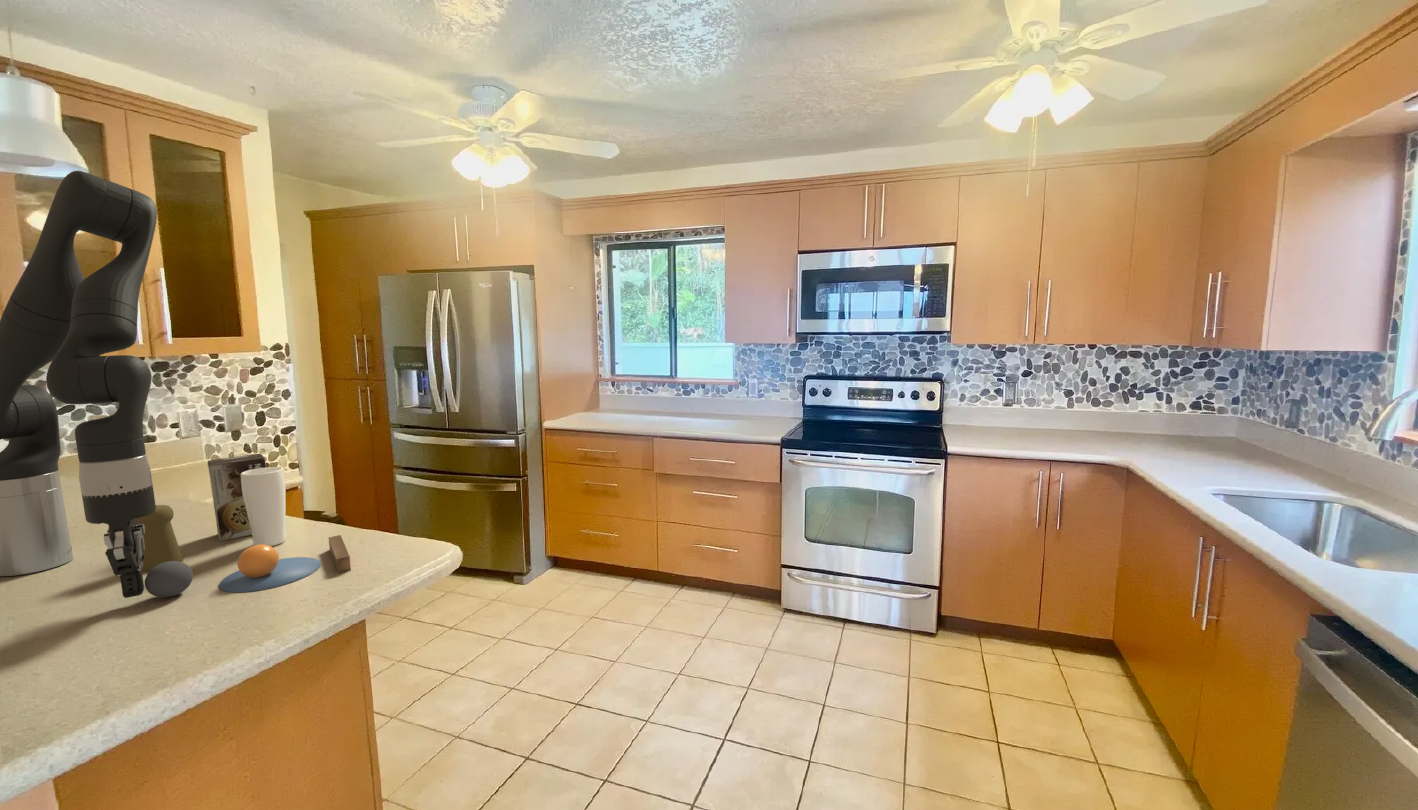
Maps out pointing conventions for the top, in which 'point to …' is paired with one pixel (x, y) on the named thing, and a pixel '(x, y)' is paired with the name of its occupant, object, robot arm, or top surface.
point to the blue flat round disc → (272, 575)
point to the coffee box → (231, 493)
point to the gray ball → (168, 579)
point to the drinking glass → (265, 504)
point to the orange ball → (258, 561)
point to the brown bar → (339, 554)
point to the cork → (159, 538)
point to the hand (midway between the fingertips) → (134, 594)
